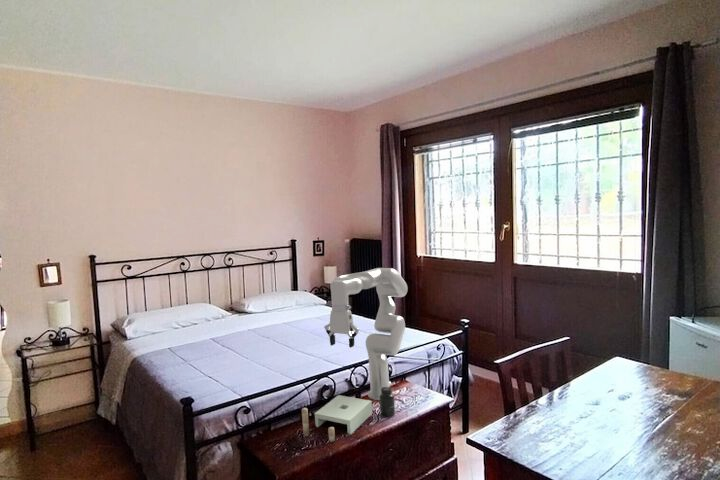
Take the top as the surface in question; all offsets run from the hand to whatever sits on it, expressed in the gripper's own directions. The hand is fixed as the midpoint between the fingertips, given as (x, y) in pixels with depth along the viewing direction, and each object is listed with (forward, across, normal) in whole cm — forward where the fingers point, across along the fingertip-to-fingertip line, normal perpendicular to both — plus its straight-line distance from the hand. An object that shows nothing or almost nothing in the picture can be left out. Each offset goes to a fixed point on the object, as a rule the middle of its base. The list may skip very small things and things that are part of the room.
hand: (342, 345), depth 193 cm
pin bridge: (+34, +1, -1) cm, 34 cm away
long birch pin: (+35, +11, +16) cm, 40 cm away
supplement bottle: (+34, -15, -13) cm, 39 cm away
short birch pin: (+35, -2, +16) cm, 39 cm away
